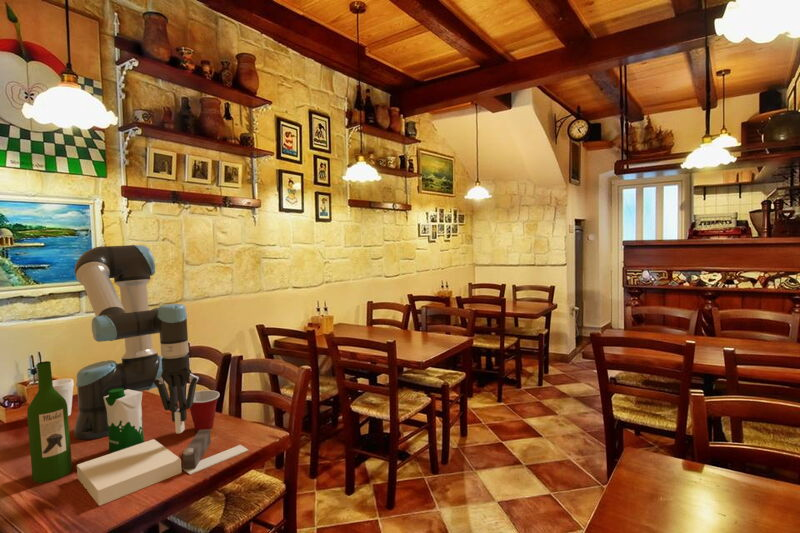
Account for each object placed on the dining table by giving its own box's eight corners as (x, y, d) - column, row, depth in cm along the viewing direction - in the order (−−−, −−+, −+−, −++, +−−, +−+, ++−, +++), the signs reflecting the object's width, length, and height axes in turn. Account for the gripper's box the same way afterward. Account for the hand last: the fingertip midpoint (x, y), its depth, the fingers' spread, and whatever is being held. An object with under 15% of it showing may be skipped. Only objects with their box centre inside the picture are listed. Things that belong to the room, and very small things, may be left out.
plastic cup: (209, 436, 149) (207, 401, 148) (180, 433, 151) (178, 399, 150) (227, 422, 159) (226, 389, 159) (201, 420, 162) (199, 388, 161)
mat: (182, 468, 128) (182, 467, 128) (240, 445, 141) (240, 444, 141) (190, 474, 124) (189, 473, 124) (248, 450, 138) (248, 449, 138)
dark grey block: (193, 470, 126) (192, 451, 125) (182, 471, 125) (180, 452, 125) (210, 442, 143) (209, 426, 142) (200, 443, 142) (199, 426, 142)
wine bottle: (40, 486, 120) (30, 368, 118) (27, 477, 125) (17, 364, 123) (78, 471, 128) (69, 360, 126) (64, 463, 133) (55, 356, 130)
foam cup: (49, 413, 172) (46, 381, 171) (78, 409, 176) (75, 377, 175) (41, 422, 164) (38, 388, 163) (72, 417, 168) (69, 384, 167)
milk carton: (104, 453, 138) (99, 390, 137) (132, 440, 147) (128, 381, 145) (122, 458, 135) (117, 394, 133) (150, 445, 143) (145, 384, 142)
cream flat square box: (77, 478, 124) (76, 464, 124) (154, 451, 139) (153, 439, 139) (99, 505, 111) (98, 490, 110) (181, 472, 126) (180, 459, 125)
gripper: (146, 359, 130) (152, 438, 131) (192, 357, 131) (197, 435, 132) (159, 353, 138) (164, 427, 139) (201, 351, 138) (206, 425, 140)
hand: (180, 431), depth 136 cm, fingers closed
